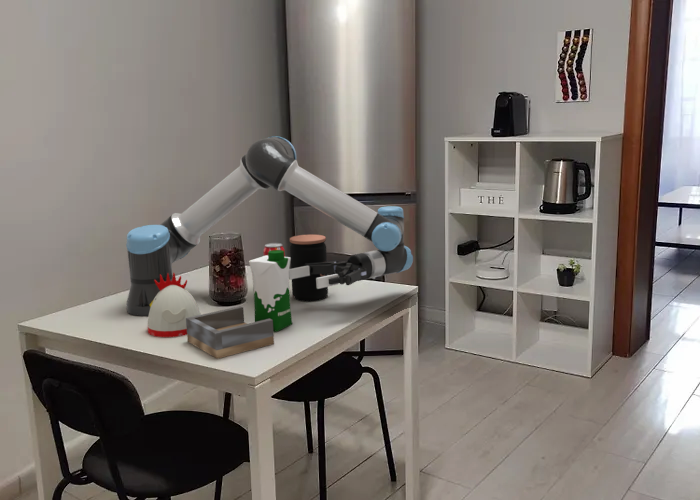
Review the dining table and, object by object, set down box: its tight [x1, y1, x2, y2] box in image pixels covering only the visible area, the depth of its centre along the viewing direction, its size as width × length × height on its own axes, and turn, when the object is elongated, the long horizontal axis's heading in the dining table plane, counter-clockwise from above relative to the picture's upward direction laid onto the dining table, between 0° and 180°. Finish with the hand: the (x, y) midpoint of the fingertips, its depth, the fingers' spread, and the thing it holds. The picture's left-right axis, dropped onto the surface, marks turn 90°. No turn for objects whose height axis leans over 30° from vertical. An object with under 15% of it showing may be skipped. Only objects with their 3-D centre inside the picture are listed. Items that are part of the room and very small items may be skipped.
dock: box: [186, 305, 275, 359], centre depth 167 cm, size 16×15×6 cm
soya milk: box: [248, 250, 293, 333], centre depth 177 cm, size 9×9×20 cm
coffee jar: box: [289, 234, 329, 302], centre depth 204 cm, size 11×11×18 cm
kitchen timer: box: [147, 272, 202, 338], centre depth 179 cm, size 14×14×15 cm
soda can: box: [262, 242, 286, 257], centre depth 226 cm, size 7×7×12 cm
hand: (302, 278), depth 183 cm, fingers open, 13 cm apart
